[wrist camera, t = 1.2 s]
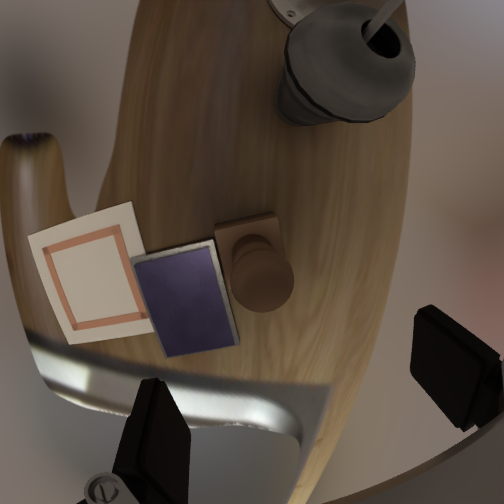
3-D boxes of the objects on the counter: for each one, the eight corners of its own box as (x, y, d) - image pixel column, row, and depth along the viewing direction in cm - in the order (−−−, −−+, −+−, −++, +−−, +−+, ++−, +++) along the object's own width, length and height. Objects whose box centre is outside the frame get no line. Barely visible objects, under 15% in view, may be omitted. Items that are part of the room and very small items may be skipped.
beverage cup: (287, 156, 25) (444, 132, 6) (242, 90, 23) (290, -67, 4) (349, 118, 25) (528, 71, 6) (306, 56, 23) (428, -72, 4)
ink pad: (131, 256, 26) (127, 261, 25) (213, 237, 27) (212, 241, 25) (166, 353, 29) (164, 361, 28) (239, 339, 30) (240, 347, 28)
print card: (28, 235, 25) (26, 236, 24) (132, 201, 25) (130, 201, 25) (70, 343, 28) (68, 345, 28) (170, 327, 29) (170, 329, 28)
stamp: (214, 224, 26) (210, 260, 16) (271, 211, 27) (304, 239, 16) (227, 277, 28) (232, 340, 17) (281, 265, 28) (315, 320, 18)
